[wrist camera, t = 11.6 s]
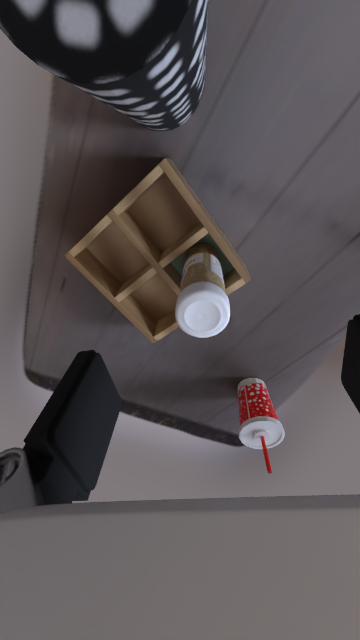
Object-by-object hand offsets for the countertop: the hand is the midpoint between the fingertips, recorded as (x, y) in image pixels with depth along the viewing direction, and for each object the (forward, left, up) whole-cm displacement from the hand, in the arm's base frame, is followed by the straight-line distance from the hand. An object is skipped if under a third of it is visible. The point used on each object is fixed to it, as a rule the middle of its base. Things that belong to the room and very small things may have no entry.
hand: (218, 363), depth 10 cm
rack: (+7, -1, -25) cm, 26 cm away
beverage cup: (+10, +25, -25) cm, 37 cm away
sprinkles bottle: (+3, +3, -24) cm, 25 cm away
